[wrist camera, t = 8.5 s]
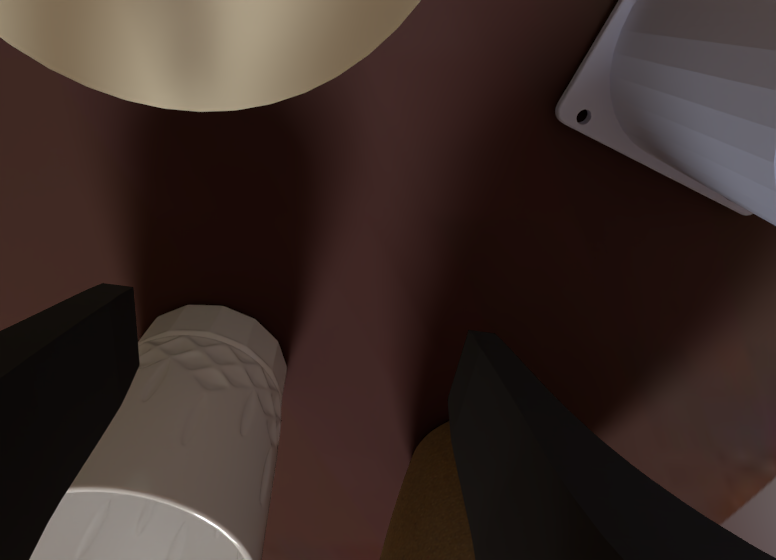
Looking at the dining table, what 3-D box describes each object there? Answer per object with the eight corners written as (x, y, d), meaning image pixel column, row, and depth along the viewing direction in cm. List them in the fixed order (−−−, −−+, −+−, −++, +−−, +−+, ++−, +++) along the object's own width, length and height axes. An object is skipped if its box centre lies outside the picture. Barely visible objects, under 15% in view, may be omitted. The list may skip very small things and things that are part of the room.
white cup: (317, 412, 25) (287, 630, 17) (166, 434, 26) (61, 658, 17) (272, 276, 21) (203, 468, 13) (96, 306, 22) (-86, 510, 13)
